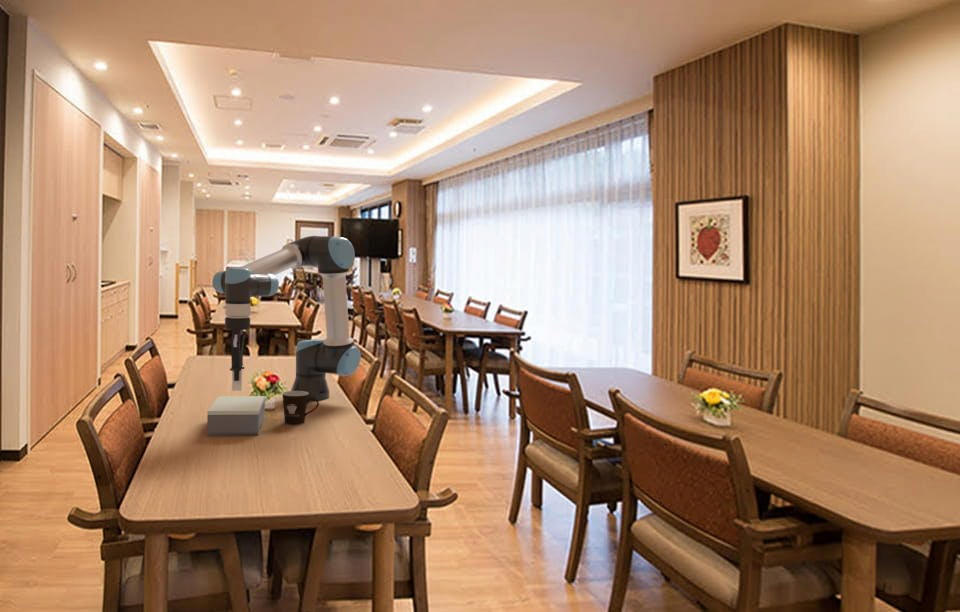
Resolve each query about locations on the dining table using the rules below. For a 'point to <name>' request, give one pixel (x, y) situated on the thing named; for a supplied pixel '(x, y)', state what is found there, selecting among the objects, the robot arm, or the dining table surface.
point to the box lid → (237, 405)
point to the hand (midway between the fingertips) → (237, 390)
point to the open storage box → (235, 424)
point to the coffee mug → (296, 406)
